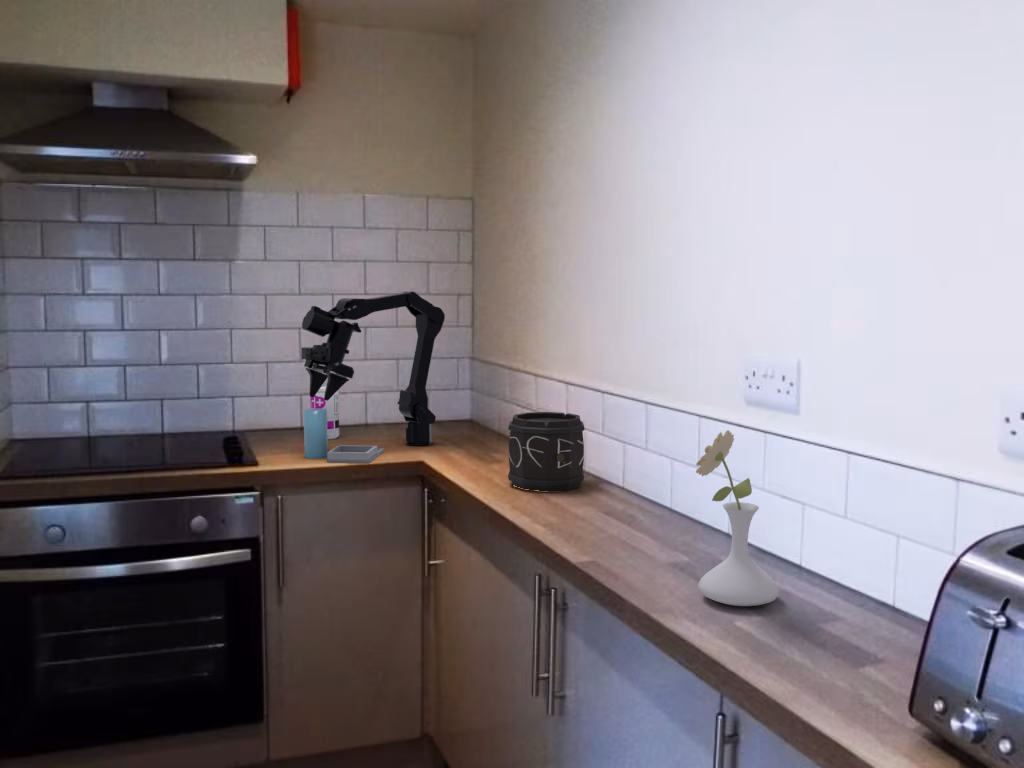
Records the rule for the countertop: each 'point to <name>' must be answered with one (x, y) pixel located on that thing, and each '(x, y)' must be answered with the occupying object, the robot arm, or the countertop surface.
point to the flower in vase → (734, 541)
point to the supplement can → (328, 411)
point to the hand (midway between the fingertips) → (318, 398)
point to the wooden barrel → (546, 451)
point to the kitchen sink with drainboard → (353, 454)
